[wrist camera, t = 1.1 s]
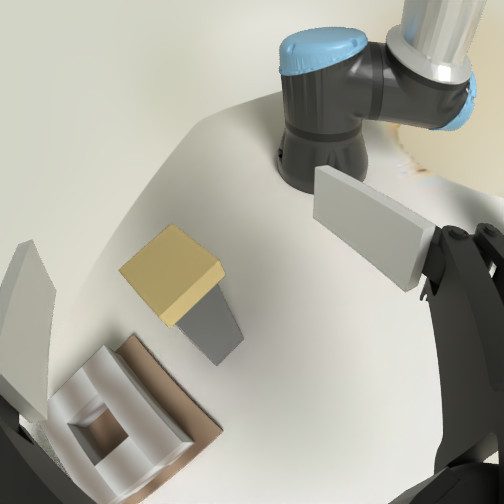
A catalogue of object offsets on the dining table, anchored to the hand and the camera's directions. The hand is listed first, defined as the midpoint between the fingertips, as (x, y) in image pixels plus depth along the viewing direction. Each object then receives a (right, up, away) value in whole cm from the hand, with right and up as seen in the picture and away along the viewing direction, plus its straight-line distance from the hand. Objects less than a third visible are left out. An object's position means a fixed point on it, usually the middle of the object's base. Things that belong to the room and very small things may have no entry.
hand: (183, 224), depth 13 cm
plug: (-1, -11, +21) cm, 24 cm away
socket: (-13, -22, +15) cm, 30 cm away
